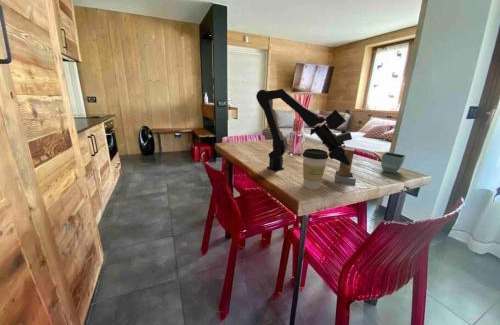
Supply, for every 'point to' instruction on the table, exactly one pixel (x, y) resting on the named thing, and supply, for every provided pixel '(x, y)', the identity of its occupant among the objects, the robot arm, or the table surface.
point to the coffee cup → (313, 167)
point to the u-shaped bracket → (345, 178)
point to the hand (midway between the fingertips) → (349, 163)
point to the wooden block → (345, 169)
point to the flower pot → (392, 162)
